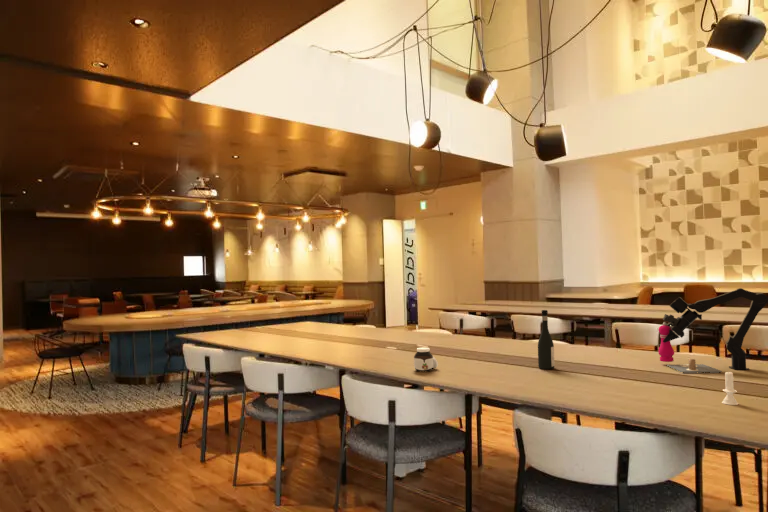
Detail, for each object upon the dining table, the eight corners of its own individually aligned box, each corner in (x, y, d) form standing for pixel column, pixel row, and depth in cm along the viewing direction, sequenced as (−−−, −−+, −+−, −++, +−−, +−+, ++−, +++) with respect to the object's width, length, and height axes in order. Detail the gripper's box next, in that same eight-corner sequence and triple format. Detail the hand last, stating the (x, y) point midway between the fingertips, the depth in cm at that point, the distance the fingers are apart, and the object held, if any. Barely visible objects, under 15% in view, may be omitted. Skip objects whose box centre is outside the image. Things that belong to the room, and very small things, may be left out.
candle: (732, 401, 203) (730, 369, 203) (742, 404, 197) (740, 372, 198) (718, 401, 202) (717, 370, 203) (728, 405, 197) (726, 372, 197)
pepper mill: (677, 361, 271) (675, 322, 272) (663, 362, 271) (661, 323, 272) (670, 359, 278) (668, 321, 279) (656, 359, 279) (654, 321, 279)
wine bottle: (552, 366, 278) (550, 309, 279) (556, 369, 270) (554, 310, 271) (537, 366, 279) (535, 309, 280) (539, 369, 271) (538, 310, 272)
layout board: (722, 373, 252) (721, 360, 252) (682, 373, 254) (682, 360, 254) (703, 366, 269) (702, 354, 269) (666, 366, 270) (666, 354, 271)
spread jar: (413, 372, 275) (412, 349, 275) (416, 367, 286) (416, 346, 286) (436, 372, 272) (435, 349, 272) (439, 368, 283) (438, 346, 283)
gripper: (670, 307, 283) (648, 328, 286) (675, 310, 265) (652, 332, 269) (687, 322, 280) (665, 342, 283) (694, 326, 262) (670, 348, 266)
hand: (662, 341), depth 276 cm, fingers closed on pepper mill, 5 cm apart
